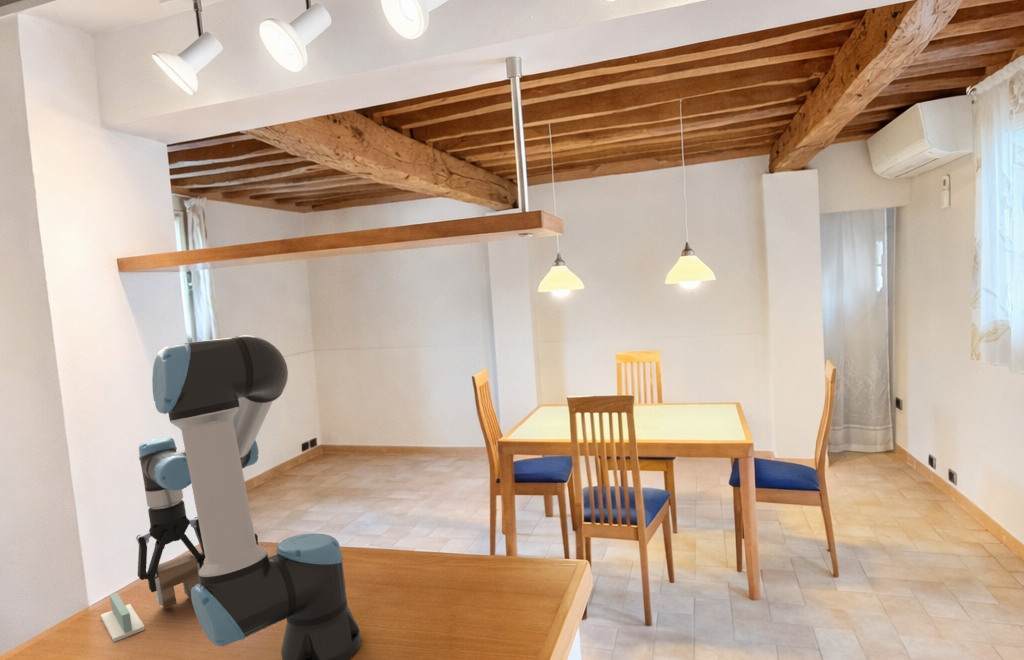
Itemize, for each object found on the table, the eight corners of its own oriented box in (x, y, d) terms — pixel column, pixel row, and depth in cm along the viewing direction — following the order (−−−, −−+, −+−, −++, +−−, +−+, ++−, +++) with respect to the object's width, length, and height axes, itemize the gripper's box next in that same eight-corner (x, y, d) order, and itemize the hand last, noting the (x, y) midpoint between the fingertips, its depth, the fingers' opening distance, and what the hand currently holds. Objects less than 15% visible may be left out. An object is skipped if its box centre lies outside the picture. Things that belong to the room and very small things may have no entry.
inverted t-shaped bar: (144, 629, 137) (141, 609, 137) (113, 642, 133) (110, 621, 133) (130, 606, 148) (127, 587, 148) (101, 617, 144) (97, 598, 144)
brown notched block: (201, 594, 148) (196, 558, 148) (164, 608, 143) (158, 571, 142) (195, 588, 152) (190, 553, 151) (159, 602, 147) (153, 565, 146)
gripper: (207, 487, 156) (220, 573, 157) (111, 514, 142) (126, 609, 143) (217, 492, 150) (230, 582, 152) (118, 522, 136) (133, 619, 138)
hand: (180, 595), depth 148 cm, fingers closed on brown notched block, 8 cm apart
